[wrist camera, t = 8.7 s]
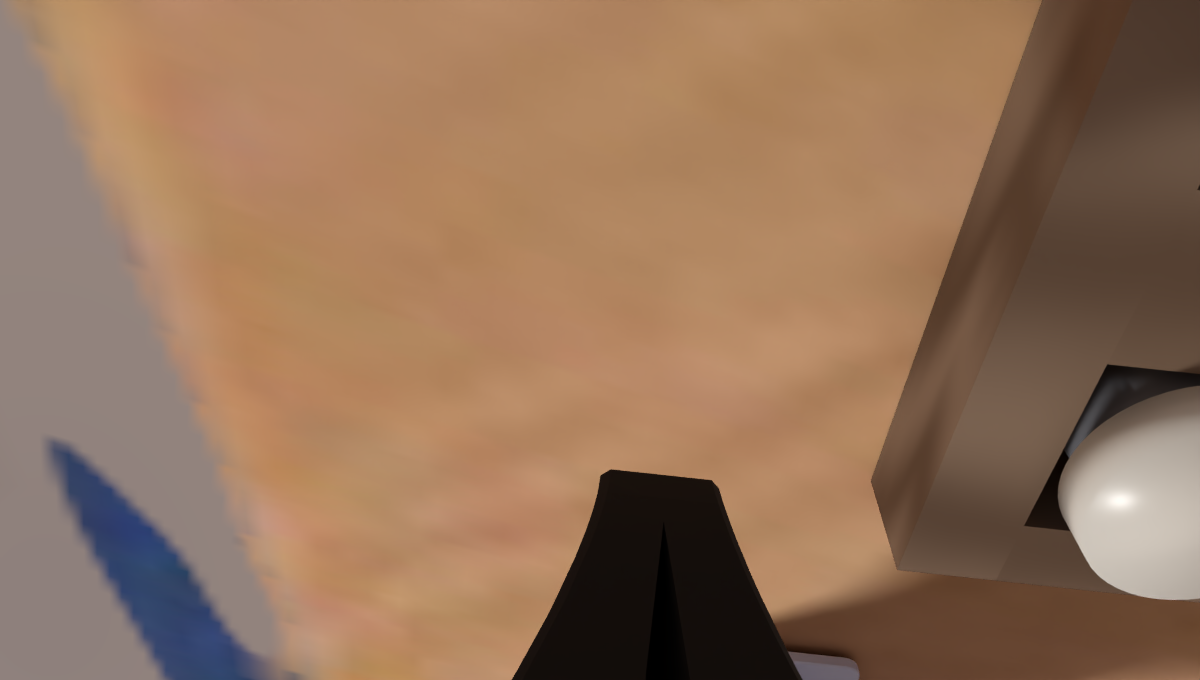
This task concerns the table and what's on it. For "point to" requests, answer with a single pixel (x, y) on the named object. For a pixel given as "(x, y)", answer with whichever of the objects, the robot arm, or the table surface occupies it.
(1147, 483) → the knob
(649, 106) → the table surface
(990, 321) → the knob mount
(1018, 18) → the table surface
